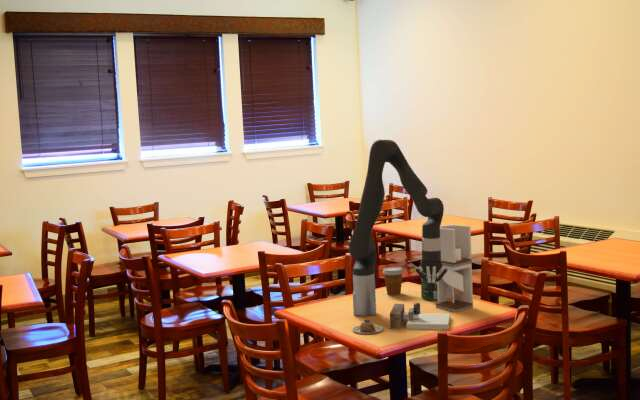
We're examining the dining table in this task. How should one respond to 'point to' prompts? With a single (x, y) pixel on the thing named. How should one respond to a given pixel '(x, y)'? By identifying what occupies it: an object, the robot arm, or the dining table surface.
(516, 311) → the dining table surface
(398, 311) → the block
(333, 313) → the dining table surface
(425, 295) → the coffee jar
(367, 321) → the pastry
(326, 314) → the dining table surface
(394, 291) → the disposable coffee cup
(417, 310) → the bolt
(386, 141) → the robot arm
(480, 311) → the dining table surface
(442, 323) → the door board
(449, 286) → the display case
